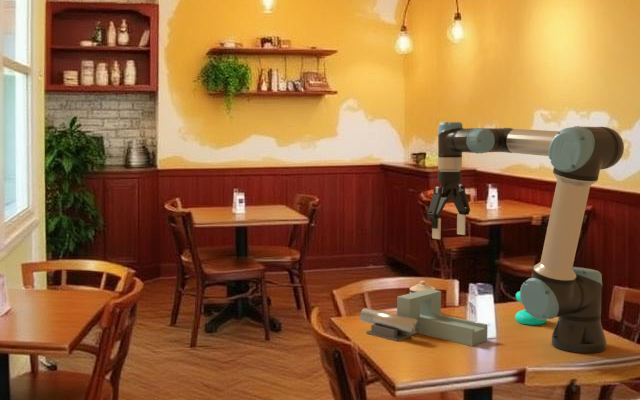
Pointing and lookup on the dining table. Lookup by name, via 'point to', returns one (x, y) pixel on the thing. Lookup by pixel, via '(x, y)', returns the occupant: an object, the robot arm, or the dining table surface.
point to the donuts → (527, 316)
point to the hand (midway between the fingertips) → (448, 236)
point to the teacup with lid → (421, 287)
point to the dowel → (390, 320)
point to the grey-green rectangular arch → (419, 304)
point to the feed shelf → (453, 329)
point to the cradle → (387, 333)
